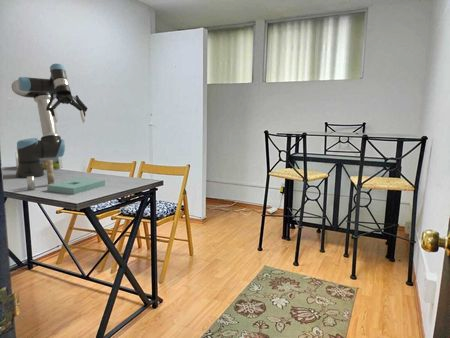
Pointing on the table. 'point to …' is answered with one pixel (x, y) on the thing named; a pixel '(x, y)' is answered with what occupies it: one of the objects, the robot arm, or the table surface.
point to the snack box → (56, 162)
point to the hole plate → (75, 185)
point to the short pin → (30, 183)
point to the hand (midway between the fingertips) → (70, 121)
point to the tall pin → (50, 171)
